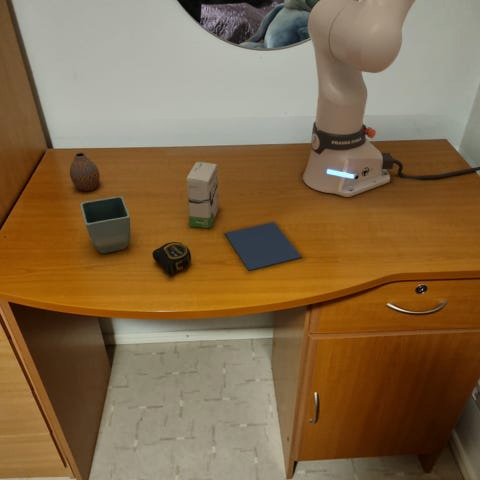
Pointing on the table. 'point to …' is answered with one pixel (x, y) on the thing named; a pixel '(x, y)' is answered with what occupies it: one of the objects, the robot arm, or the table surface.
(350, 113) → the robot arm
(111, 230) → the flower pot
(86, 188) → the vase
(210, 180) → the ink box
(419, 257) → the table surface
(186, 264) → the tape measure
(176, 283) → the table surface
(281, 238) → the cloth
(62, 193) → the table surface
